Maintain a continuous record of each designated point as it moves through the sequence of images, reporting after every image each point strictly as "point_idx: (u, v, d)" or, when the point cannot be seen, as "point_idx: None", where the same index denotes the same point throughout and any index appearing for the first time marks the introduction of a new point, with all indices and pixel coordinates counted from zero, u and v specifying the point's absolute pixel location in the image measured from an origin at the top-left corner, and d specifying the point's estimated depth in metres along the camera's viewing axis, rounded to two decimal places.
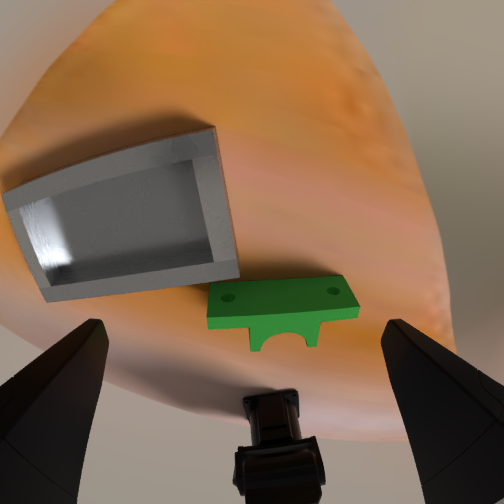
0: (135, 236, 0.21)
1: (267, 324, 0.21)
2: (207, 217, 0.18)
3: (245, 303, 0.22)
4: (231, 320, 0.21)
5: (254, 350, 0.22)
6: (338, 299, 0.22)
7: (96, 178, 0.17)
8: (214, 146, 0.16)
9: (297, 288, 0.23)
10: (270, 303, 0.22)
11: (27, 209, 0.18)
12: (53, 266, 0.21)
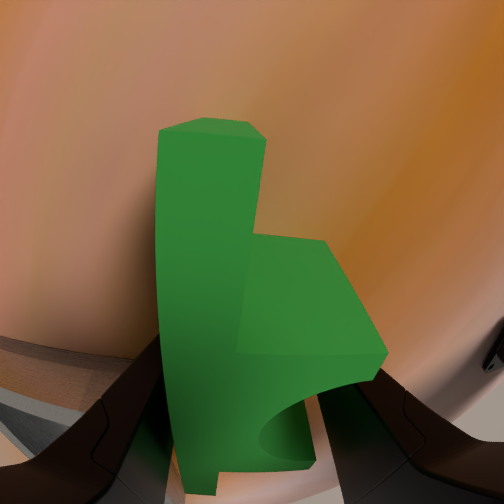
0: None
1: (211, 455, 0.06)
2: (27, 410, 0.08)
3: None
4: (192, 481, 0.07)
5: (308, 465, 0.07)
6: None
7: (30, 452, 0.11)
8: None
9: None
10: None
11: None
12: None
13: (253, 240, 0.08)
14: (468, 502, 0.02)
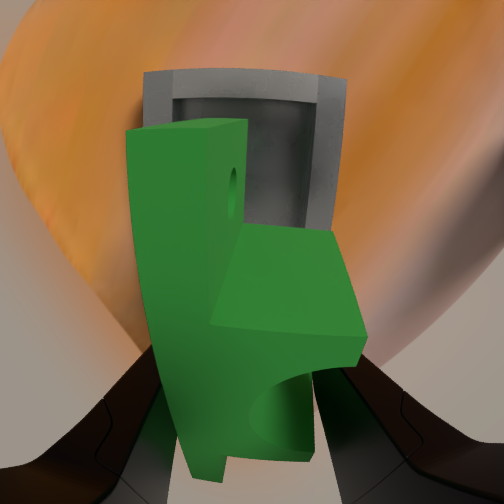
0: (266, 197, 0.17)
1: (208, 435, 0.07)
2: (251, 93, 0.13)
3: None
4: (197, 464, 0.08)
5: (307, 457, 0.07)
6: None
7: None
8: (163, 71, 0.12)
9: None
10: None
11: None
12: None
13: (259, 230, 0.08)
14: None
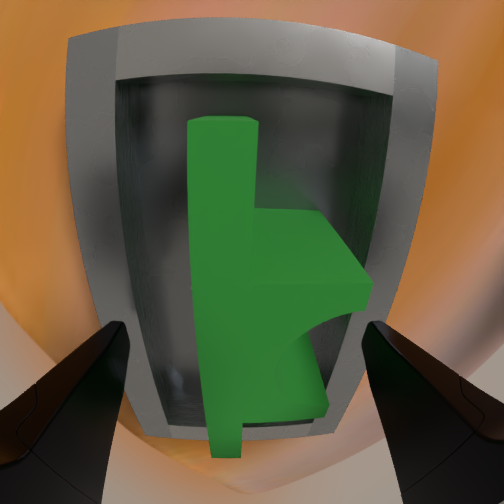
0: None
1: (235, 402, 0.07)
2: (272, 67, 0.06)
3: None
4: (219, 440, 0.09)
5: (322, 412, 0.08)
6: None
7: (127, 299, 0.09)
8: (100, 32, 0.05)
9: None
10: None
11: (181, 409, 0.13)
12: None
13: (258, 212, 0.09)
14: None
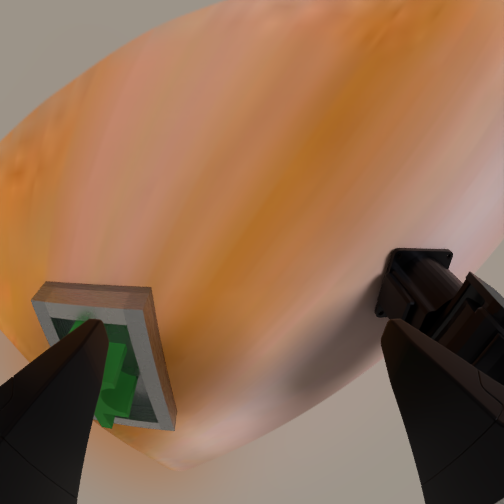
0: (125, 356, 0.24)
1: None
2: None
3: None
4: (99, 418, 0.22)
5: (126, 415, 0.22)
6: None
7: None
8: (39, 302, 0.19)
9: None
10: None
11: None
12: (150, 411, 0.27)
13: None
14: None
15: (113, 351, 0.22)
